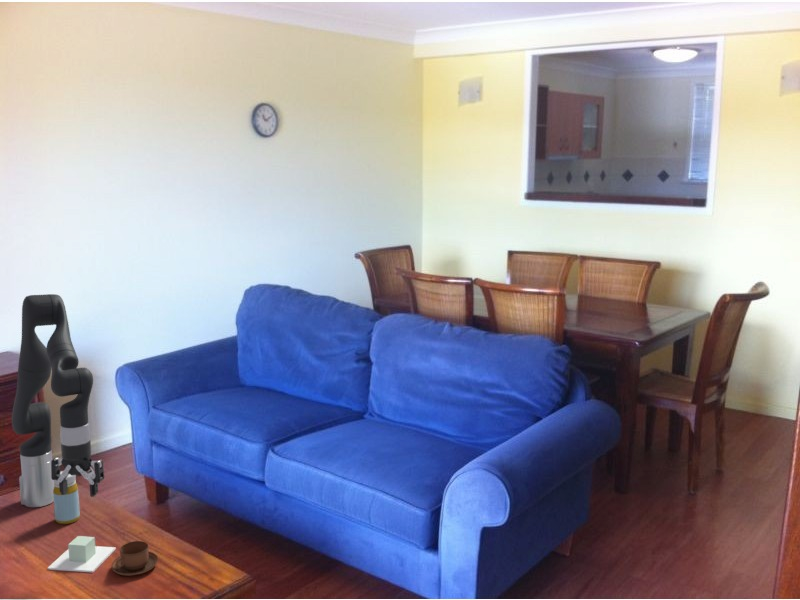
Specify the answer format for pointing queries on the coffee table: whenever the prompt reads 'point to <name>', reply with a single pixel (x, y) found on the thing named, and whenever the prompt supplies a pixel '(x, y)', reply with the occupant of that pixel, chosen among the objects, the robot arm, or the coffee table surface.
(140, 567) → the cup and saucer
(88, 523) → the coffee table surface
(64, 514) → the bottle
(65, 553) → the mat
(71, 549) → the sage cube
